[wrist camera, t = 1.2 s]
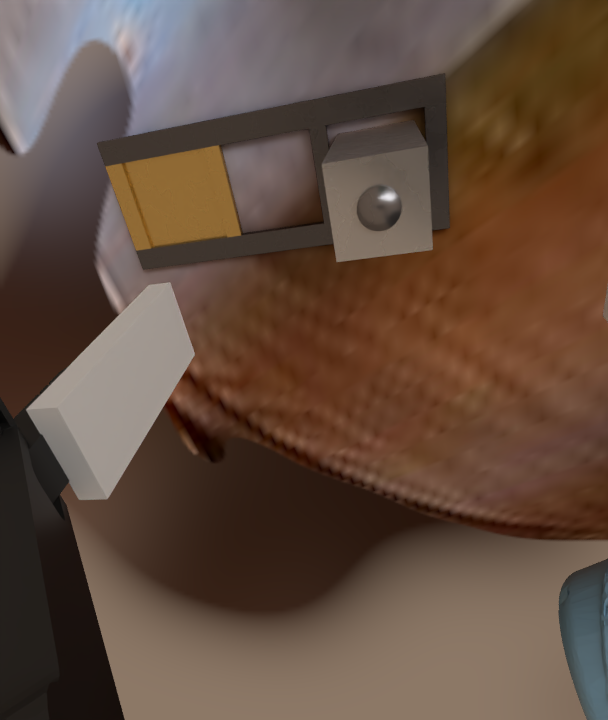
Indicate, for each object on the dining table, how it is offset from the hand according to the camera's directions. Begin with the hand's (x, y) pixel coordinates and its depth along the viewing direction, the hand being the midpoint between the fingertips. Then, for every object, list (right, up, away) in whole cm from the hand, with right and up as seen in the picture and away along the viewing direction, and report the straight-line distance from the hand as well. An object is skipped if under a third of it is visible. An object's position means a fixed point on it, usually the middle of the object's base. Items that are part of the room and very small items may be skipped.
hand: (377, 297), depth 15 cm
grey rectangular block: (+3, +11, +19) cm, 22 cm away
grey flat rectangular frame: (-4, +11, +20) cm, 23 cm away
